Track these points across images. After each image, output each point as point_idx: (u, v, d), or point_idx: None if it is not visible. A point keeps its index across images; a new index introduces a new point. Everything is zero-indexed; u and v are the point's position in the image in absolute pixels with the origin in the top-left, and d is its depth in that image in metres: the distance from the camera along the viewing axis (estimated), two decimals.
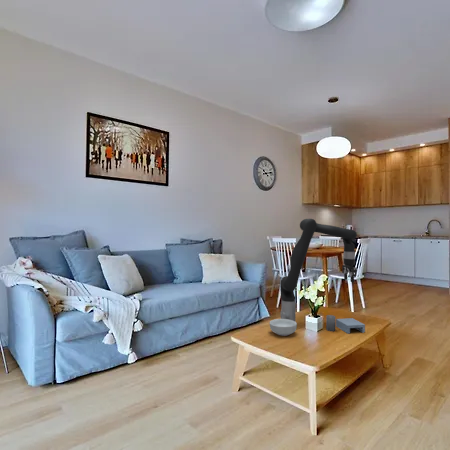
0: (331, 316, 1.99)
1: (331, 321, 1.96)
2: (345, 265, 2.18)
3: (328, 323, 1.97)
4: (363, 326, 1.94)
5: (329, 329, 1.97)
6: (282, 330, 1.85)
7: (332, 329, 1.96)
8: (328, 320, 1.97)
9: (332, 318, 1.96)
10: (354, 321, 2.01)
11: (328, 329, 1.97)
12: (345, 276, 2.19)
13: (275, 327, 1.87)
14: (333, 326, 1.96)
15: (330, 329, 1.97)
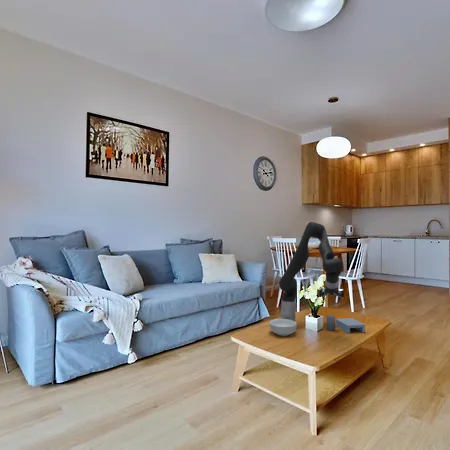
0: (331, 316, 1.99)
1: (331, 321, 1.96)
2: None
3: (328, 323, 1.97)
4: (363, 326, 1.94)
5: (329, 329, 1.97)
6: (282, 330, 1.85)
7: (332, 329, 1.96)
8: (328, 320, 1.97)
9: (332, 318, 1.96)
10: (354, 321, 2.01)
11: (328, 329, 1.97)
12: (338, 296, 1.87)
13: (275, 327, 1.87)
14: (333, 326, 1.96)
15: (330, 329, 1.97)
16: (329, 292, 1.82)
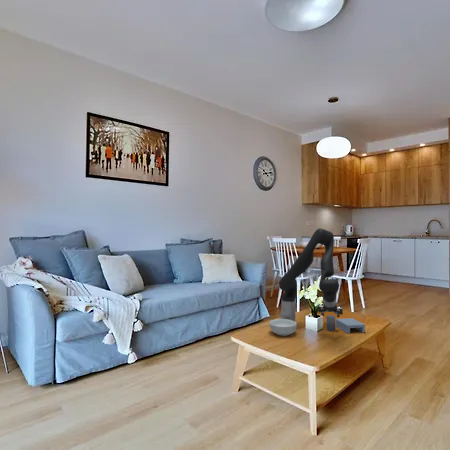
0: (331, 316, 1.99)
1: (331, 321, 1.96)
2: None
3: (328, 323, 1.97)
4: (363, 326, 1.94)
5: (329, 329, 1.97)
6: (282, 330, 1.85)
7: (332, 329, 1.96)
8: (328, 320, 1.97)
9: (332, 318, 1.96)
10: (354, 321, 2.01)
11: (328, 329, 1.97)
12: None
13: (275, 327, 1.87)
14: (333, 326, 1.96)
15: (330, 329, 1.97)
16: (327, 310, 1.85)
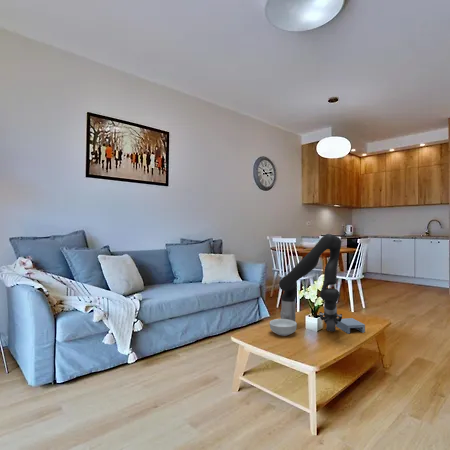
0: None
1: (331, 321, 1.96)
2: None
3: (328, 323, 1.97)
4: (363, 326, 1.94)
5: (329, 329, 1.97)
6: (282, 330, 1.85)
7: (332, 329, 1.96)
8: (328, 320, 1.97)
9: None
10: (354, 321, 2.01)
11: (328, 329, 1.97)
12: None
13: (275, 327, 1.87)
14: (333, 326, 1.96)
15: (330, 329, 1.97)
16: (328, 317, 1.93)
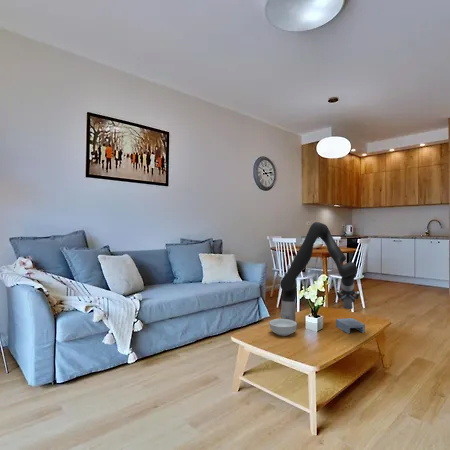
0: None
1: (348, 299, 1.97)
2: None
3: (345, 301, 1.98)
4: (363, 326, 1.94)
5: (346, 307, 1.97)
6: (282, 330, 1.85)
7: (349, 307, 1.97)
8: (345, 298, 1.98)
9: (349, 296, 1.97)
10: (354, 321, 2.01)
11: (345, 307, 1.98)
12: None
13: (275, 327, 1.87)
14: (350, 304, 1.97)
15: (347, 307, 1.97)
16: (345, 294, 1.94)
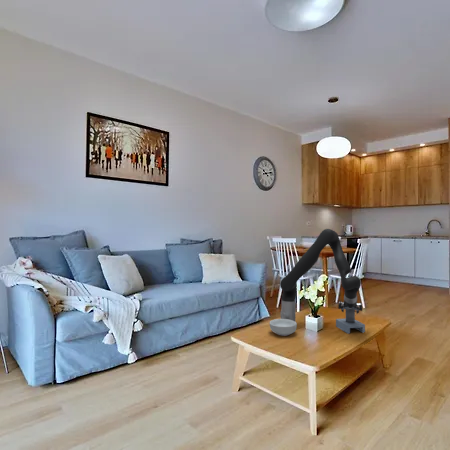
0: (350, 308, 2.00)
1: (351, 313, 1.97)
2: None
3: (347, 315, 1.98)
4: (363, 326, 1.94)
5: (349, 321, 1.98)
6: (282, 330, 1.85)
7: (352, 321, 1.97)
8: (347, 312, 1.98)
9: (352, 310, 1.97)
10: None
11: (348, 321, 1.98)
12: (356, 309, 1.99)
13: (275, 327, 1.87)
14: (353, 318, 1.97)
15: (350, 321, 1.98)
16: (348, 306, 1.94)
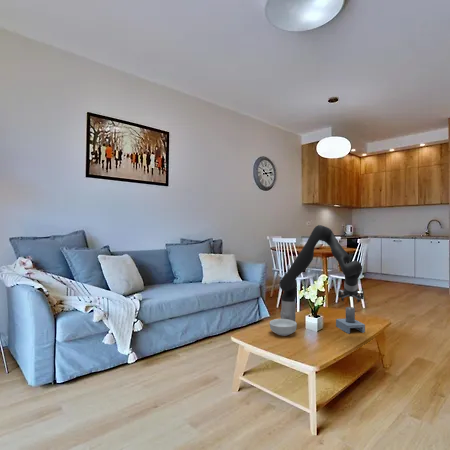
0: (350, 308, 2.00)
1: (351, 313, 1.97)
2: None
3: (348, 315, 1.98)
4: (363, 326, 1.94)
5: (349, 321, 1.98)
6: (282, 330, 1.85)
7: (352, 321, 1.97)
8: (348, 312, 1.98)
9: (352, 310, 1.97)
10: None
11: (348, 321, 1.98)
12: None
13: (275, 327, 1.87)
14: (353, 318, 1.97)
15: (350, 321, 1.98)
16: (348, 294, 1.83)
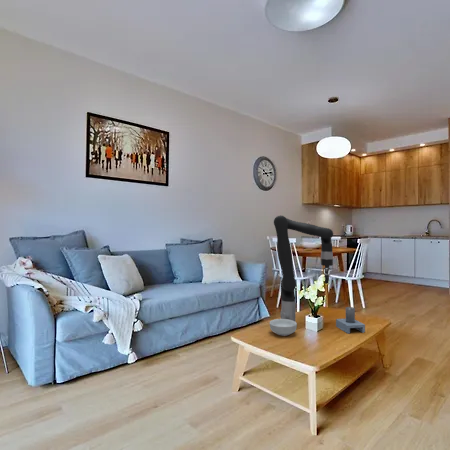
0: (350, 308, 2.00)
1: (351, 313, 1.97)
2: None
3: (348, 315, 1.98)
4: (363, 326, 1.94)
5: (349, 321, 1.98)
6: (282, 330, 1.85)
7: (352, 321, 1.97)
8: (348, 312, 1.98)
9: (352, 310, 1.97)
10: None
11: (348, 321, 1.98)
12: None
13: (275, 327, 1.87)
14: (353, 318, 1.97)
15: (350, 321, 1.98)
16: (329, 268, 2.02)
